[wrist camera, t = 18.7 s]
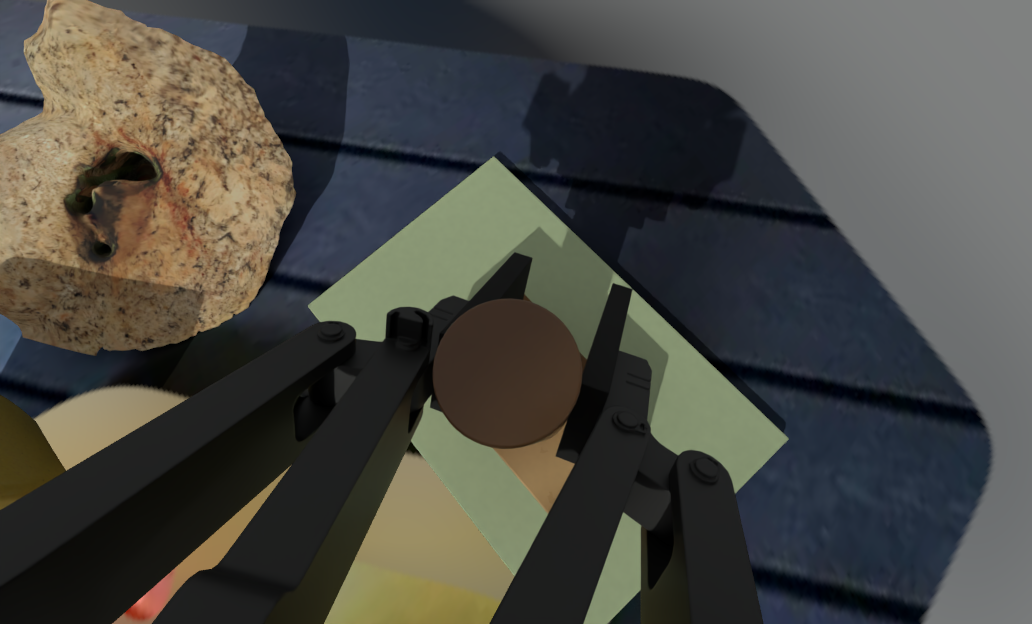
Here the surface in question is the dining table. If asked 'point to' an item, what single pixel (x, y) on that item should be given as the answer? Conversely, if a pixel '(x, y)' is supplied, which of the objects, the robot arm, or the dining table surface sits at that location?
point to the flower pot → (23, 454)
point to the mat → (579, 305)
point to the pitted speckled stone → (134, 187)
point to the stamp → (512, 387)
